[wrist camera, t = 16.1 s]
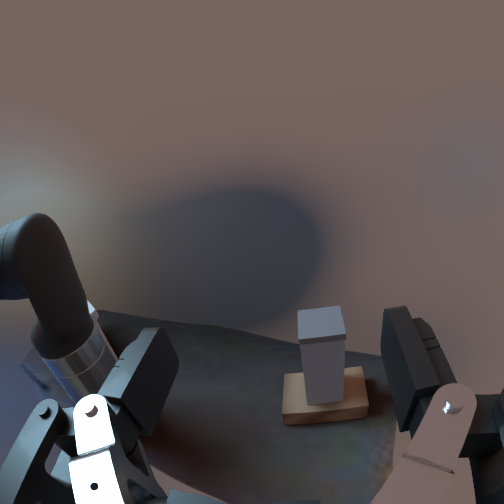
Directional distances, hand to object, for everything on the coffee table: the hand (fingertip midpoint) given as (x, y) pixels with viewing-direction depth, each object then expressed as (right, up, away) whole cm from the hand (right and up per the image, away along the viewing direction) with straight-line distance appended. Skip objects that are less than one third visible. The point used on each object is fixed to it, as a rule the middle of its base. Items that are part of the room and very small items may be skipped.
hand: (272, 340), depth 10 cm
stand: (+9, -18, +26) cm, 33 cm away
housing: (+9, -15, +25) cm, 30 cm away
